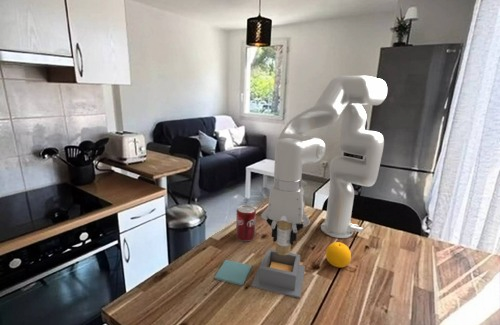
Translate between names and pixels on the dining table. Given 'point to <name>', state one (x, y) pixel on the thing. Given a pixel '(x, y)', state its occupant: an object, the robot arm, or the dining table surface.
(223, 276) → the teal mat
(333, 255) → the orange citrus fruit
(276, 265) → the button
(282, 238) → the sprinkles bottle
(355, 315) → the dining table surface
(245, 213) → the soda can
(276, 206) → the robot arm
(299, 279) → the frame
